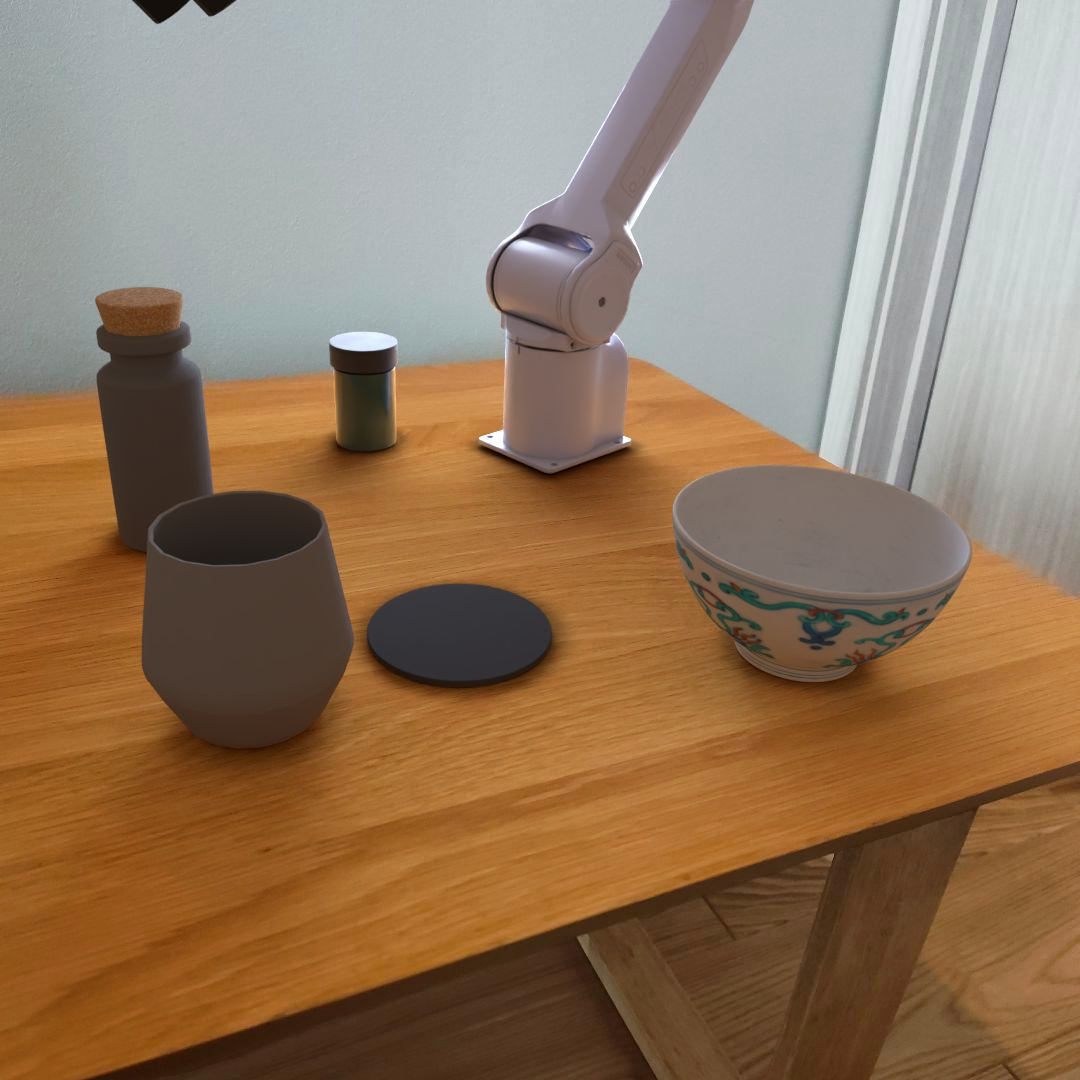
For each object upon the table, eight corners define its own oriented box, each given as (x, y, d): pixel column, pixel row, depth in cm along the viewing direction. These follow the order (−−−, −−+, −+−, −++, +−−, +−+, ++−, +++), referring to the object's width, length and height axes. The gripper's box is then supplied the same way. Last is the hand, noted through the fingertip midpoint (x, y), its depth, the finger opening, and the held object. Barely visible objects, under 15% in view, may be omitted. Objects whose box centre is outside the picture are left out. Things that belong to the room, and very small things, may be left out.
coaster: (468, 572, 64) (468, 566, 64) (589, 639, 58) (590, 633, 58) (329, 629, 58) (329, 623, 57) (449, 712, 51) (449, 705, 51)
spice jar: (372, 425, 85) (369, 333, 82) (408, 442, 82) (407, 348, 79) (324, 438, 82) (319, 344, 79) (359, 456, 79) (356, 359, 76)
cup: (191, 653, 55) (169, 476, 50) (370, 663, 55) (365, 487, 50) (120, 772, 46) (86, 571, 42) (333, 784, 46) (322, 584, 42)
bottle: (189, 559, 64) (160, 314, 57) (100, 547, 65) (61, 303, 58) (233, 519, 69) (211, 289, 62) (150, 507, 70) (120, 279, 63)
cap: (371, 349, 82) (371, 327, 82) (412, 365, 79) (412, 343, 79) (316, 361, 79) (315, 338, 78) (356, 378, 76) (355, 355, 75)
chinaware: (994, 722, 53) (1034, 587, 49) (705, 742, 50) (725, 601, 47) (864, 576, 66) (888, 461, 62) (630, 586, 63) (641, 467, 60)
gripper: (214, -244, 57) (58, -51, 55) (338, -322, 46) (148, -85, 44) (309, -126, 61) (167, 55, 60) (441, -171, 50) (272, 48, 49)
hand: (167, 4), depth 52 cm, fingers open, 7 cm apart
